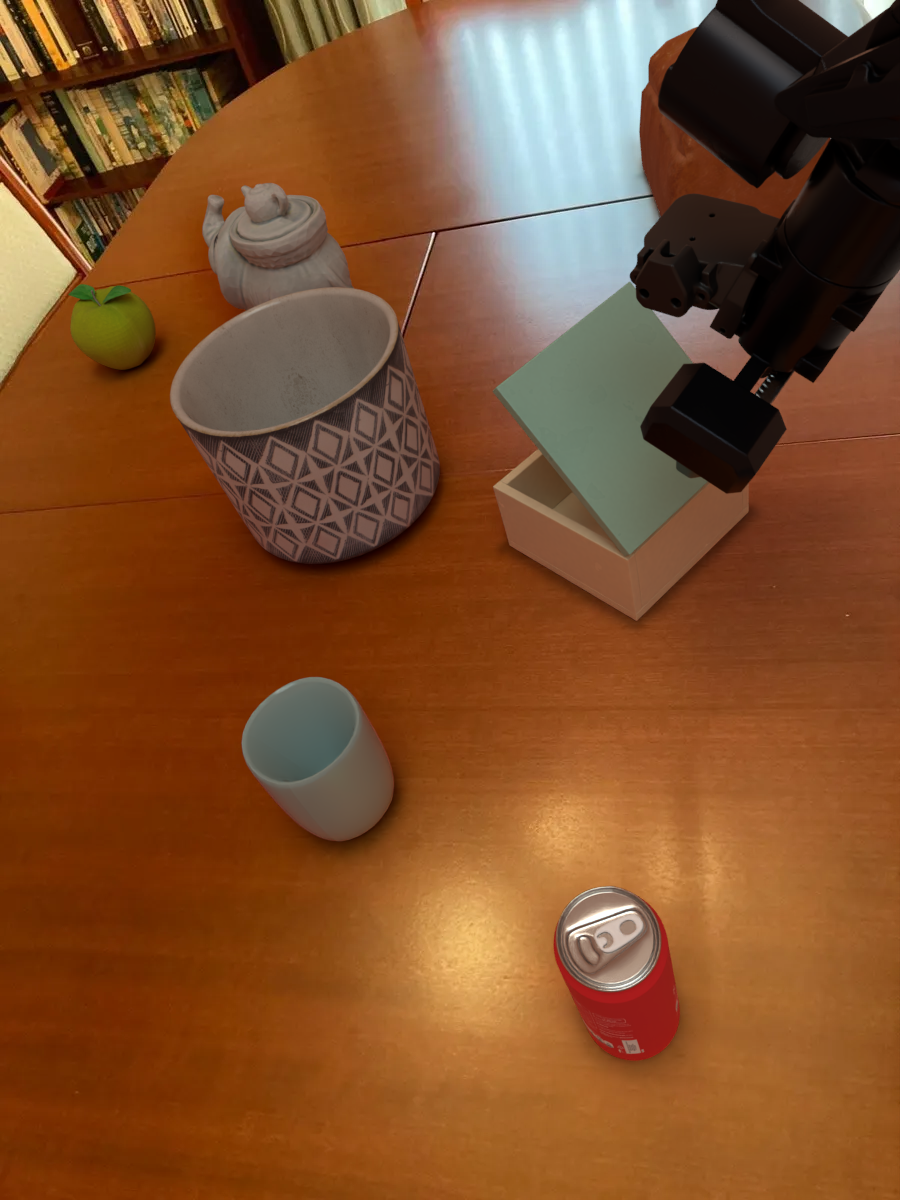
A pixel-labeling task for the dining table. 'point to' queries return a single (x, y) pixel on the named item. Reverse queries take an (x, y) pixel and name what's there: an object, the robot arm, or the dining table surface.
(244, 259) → the teapot
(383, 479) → the planter
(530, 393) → the lid
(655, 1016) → the beverage can
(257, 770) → the cup
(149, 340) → the fruit
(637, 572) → the cream square box
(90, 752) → the dining table surface
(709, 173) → the bread
